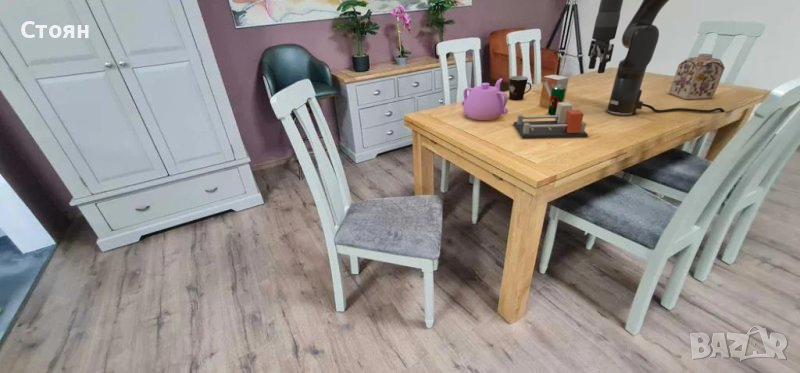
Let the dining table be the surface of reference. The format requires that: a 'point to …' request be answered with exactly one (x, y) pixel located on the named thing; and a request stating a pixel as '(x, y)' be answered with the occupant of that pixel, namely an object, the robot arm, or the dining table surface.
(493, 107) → the teapot
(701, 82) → the decorative jar
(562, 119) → the ivory marker
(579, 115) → the terracotta marker
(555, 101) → the soda can
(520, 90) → the coffee mug
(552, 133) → the score rack
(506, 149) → the dining table surface
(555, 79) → the small box
